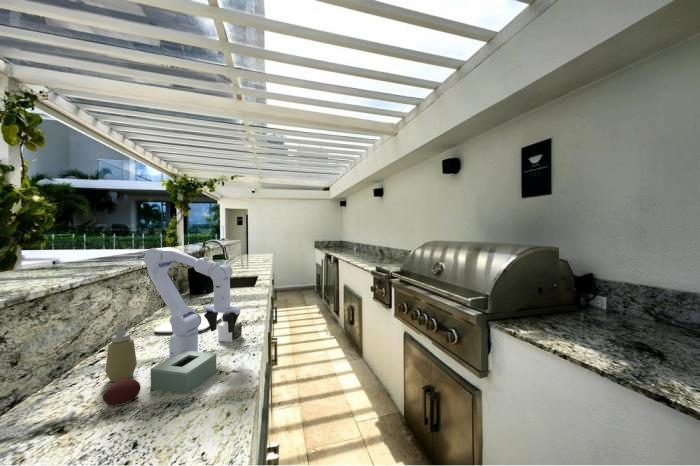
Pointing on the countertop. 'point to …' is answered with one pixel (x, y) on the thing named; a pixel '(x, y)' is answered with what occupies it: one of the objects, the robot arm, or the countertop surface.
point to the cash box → (183, 372)
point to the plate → (167, 326)
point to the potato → (121, 392)
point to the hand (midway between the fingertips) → (222, 331)
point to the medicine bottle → (225, 335)
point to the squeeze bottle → (121, 356)
